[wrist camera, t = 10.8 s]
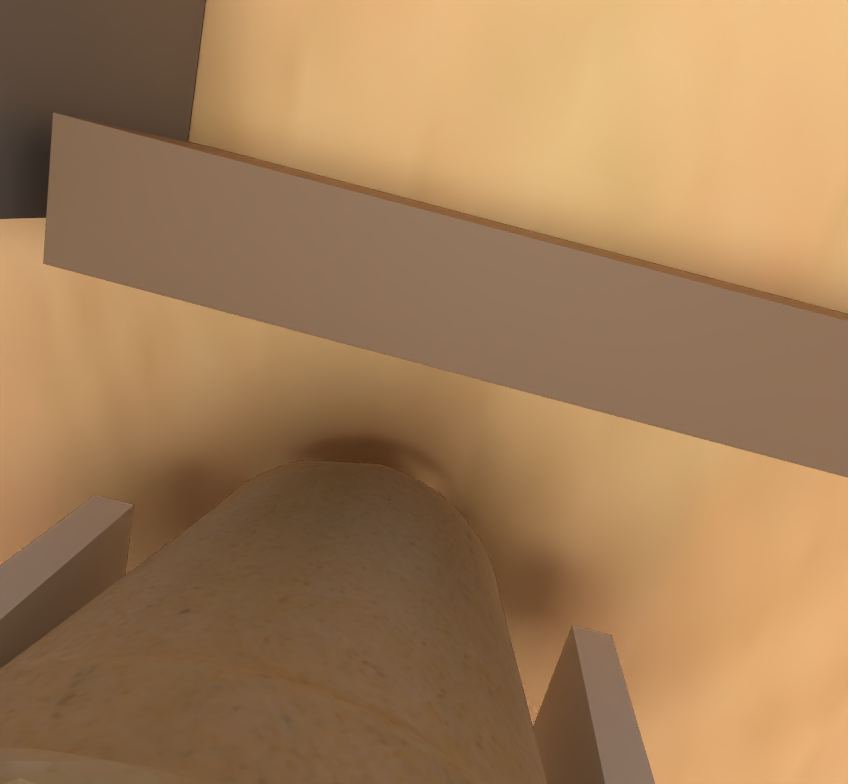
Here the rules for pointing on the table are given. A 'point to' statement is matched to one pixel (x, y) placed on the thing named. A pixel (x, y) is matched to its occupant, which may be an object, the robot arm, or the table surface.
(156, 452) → the table surface
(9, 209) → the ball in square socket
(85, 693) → the flower pot
